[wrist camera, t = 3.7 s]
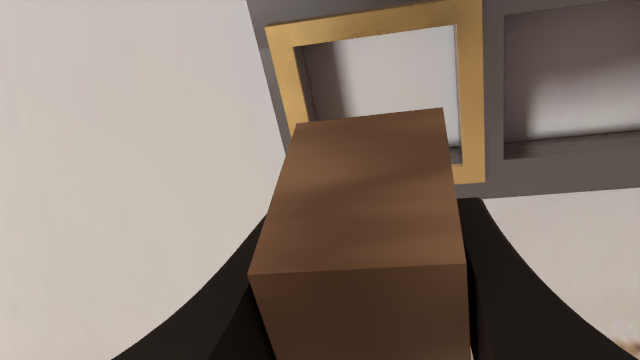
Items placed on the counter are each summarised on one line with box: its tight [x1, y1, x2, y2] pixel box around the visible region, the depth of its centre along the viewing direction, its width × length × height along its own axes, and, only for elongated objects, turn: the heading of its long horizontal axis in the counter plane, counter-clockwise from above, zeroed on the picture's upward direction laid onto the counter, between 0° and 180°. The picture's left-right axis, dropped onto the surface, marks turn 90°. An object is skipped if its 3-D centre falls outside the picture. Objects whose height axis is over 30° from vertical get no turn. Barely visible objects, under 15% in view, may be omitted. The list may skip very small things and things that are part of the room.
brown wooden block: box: [247, 107, 471, 360], centre depth 13 cm, size 4×4×6 cm
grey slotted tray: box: [246, 0, 640, 199], centre depth 19 cm, size 15×9×1 cm, turn 101°
